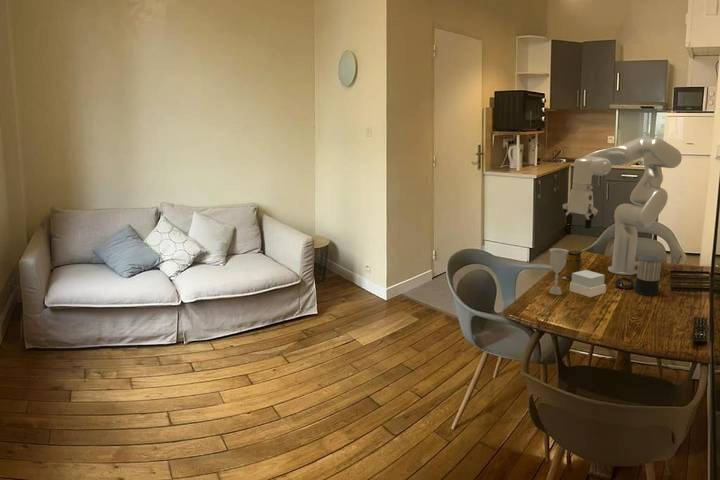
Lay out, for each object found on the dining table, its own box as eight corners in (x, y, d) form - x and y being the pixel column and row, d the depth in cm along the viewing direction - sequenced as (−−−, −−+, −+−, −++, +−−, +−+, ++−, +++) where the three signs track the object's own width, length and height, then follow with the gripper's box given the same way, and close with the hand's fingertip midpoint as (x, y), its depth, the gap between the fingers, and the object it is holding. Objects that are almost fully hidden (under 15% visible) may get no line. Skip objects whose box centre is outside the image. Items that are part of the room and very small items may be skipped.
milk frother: (661, 296, 240) (665, 261, 237) (620, 294, 243) (623, 259, 240) (652, 286, 254) (656, 252, 250) (612, 284, 257) (616, 251, 253)
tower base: (584, 287, 253) (585, 278, 252) (605, 293, 245) (606, 284, 244) (569, 291, 248) (570, 282, 247) (590, 298, 240) (590, 288, 239)
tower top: (585, 278, 252) (586, 269, 251) (603, 284, 244) (604, 275, 244) (571, 282, 247) (572, 273, 246) (589, 287, 240) (590, 278, 239)
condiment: (570, 275, 270) (572, 249, 267) (587, 279, 264) (589, 253, 261) (561, 278, 265) (563, 252, 263) (578, 282, 259) (580, 256, 256)
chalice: (544, 293, 244) (547, 251, 240) (548, 289, 250) (551, 247, 246) (563, 296, 241) (566, 253, 237) (566, 291, 247) (569, 249, 243)
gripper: (604, 189, 250) (600, 228, 254) (570, 184, 264) (567, 222, 268) (593, 190, 246) (589, 230, 250) (559, 185, 260) (556, 223, 264)
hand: (578, 226), depth 259 cm, fingers open, 9 cm apart
